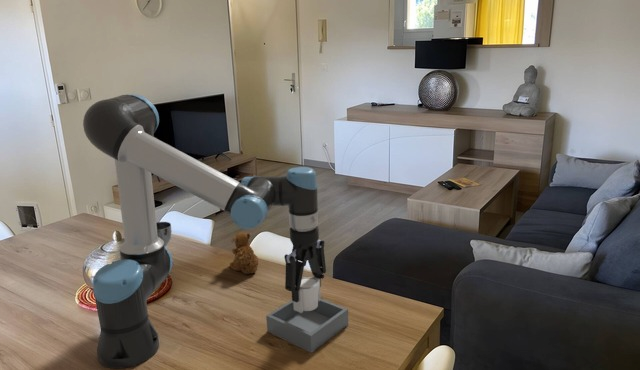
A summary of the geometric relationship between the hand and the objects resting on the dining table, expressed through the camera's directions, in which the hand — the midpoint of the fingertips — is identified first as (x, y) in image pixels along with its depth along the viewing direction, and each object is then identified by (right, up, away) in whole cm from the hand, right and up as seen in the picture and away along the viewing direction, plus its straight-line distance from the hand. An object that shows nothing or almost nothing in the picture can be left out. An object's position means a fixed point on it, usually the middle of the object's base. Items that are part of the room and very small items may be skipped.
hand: (307, 304), depth 134 cm
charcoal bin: (0, -7, +2) cm, 7 cm away
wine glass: (-53, +4, +44) cm, 69 cm away
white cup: (0, 0, 0) cm, 0 cm away
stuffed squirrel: (-22, +3, +38) cm, 45 cm away
